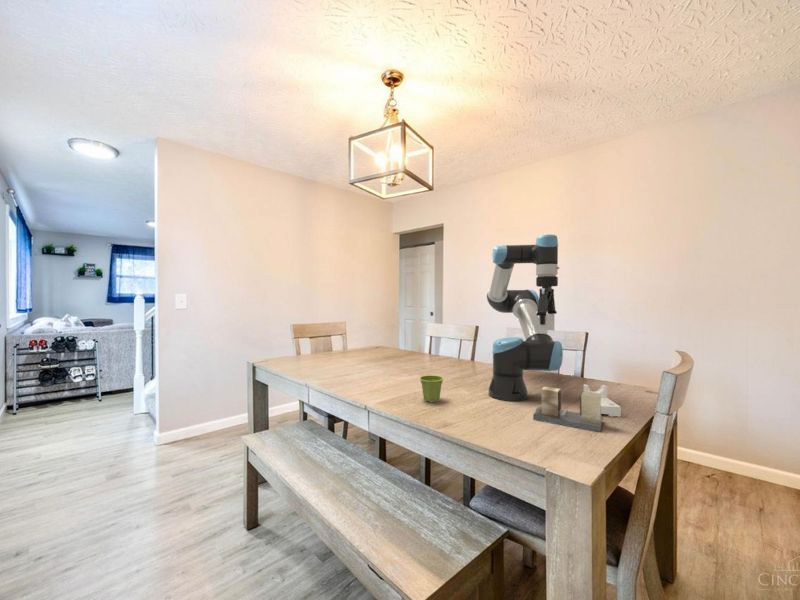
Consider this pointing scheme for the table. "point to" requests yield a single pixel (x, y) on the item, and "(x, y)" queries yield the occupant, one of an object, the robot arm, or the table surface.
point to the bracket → (605, 402)
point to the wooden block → (551, 401)
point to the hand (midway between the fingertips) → (547, 332)
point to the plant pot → (431, 387)
